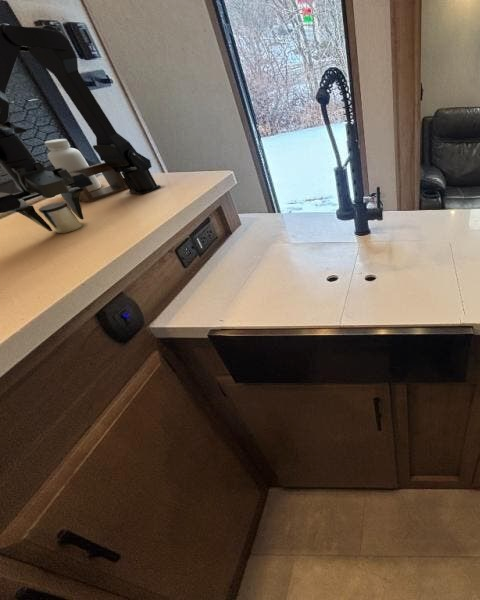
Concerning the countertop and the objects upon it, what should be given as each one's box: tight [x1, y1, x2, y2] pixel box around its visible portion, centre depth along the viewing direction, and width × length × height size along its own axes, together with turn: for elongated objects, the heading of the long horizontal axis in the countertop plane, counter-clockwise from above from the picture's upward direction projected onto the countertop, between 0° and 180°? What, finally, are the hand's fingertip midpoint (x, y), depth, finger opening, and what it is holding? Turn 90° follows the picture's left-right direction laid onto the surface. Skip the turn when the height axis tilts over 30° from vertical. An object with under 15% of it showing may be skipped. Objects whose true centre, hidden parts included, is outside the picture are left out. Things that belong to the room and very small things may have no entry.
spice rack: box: [68, 161, 129, 203], centre depth 99 cm, size 8×12×9 cm, turn 157°
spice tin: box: [38, 201, 83, 234], centre depth 79 cm, size 5×5×6 cm
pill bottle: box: [44, 138, 102, 193], centre depth 101 cm, size 8×8×15 cm
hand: (66, 224), depth 80 cm, fingers open, 7 cm apart
